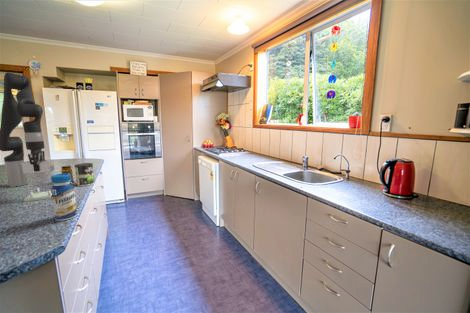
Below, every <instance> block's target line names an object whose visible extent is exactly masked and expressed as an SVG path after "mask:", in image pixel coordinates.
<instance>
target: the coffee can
mask: <svg viewBox="0 0 470 313" xmlns="http://www.w3.org/2000/svg"><path fill="white" fill-rule="evenodd" d="M93 166H94V164H93V162H86V163H85V162H84V163H76V164H75V165H74V169H75V170H74V171H75V177H76V181H77V182H76V186H78V187H87V186H91V185H94V184H95V175H94V167H93Z"/></svg>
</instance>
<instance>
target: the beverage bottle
mask: <svg viewBox="0 0 470 313" xmlns="http://www.w3.org/2000/svg"><path fill="white" fill-rule="evenodd" d="M50 180H51V184H53V185H52V186H51V188H50V191H51V193H52V196H51V199H50V200H51V201H52V208H53V214H54V220H55V221H59V222H60V221H62V222H63V221H68V220H71V219H73V218H75V217H77V216H78V211H77V202H76V192H75V191H74V189H75V187H74V185H73V183H70V181H71V176H70V174H68V173H64V174H62V173H56V174H52V175H51V177H50Z"/></svg>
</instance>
